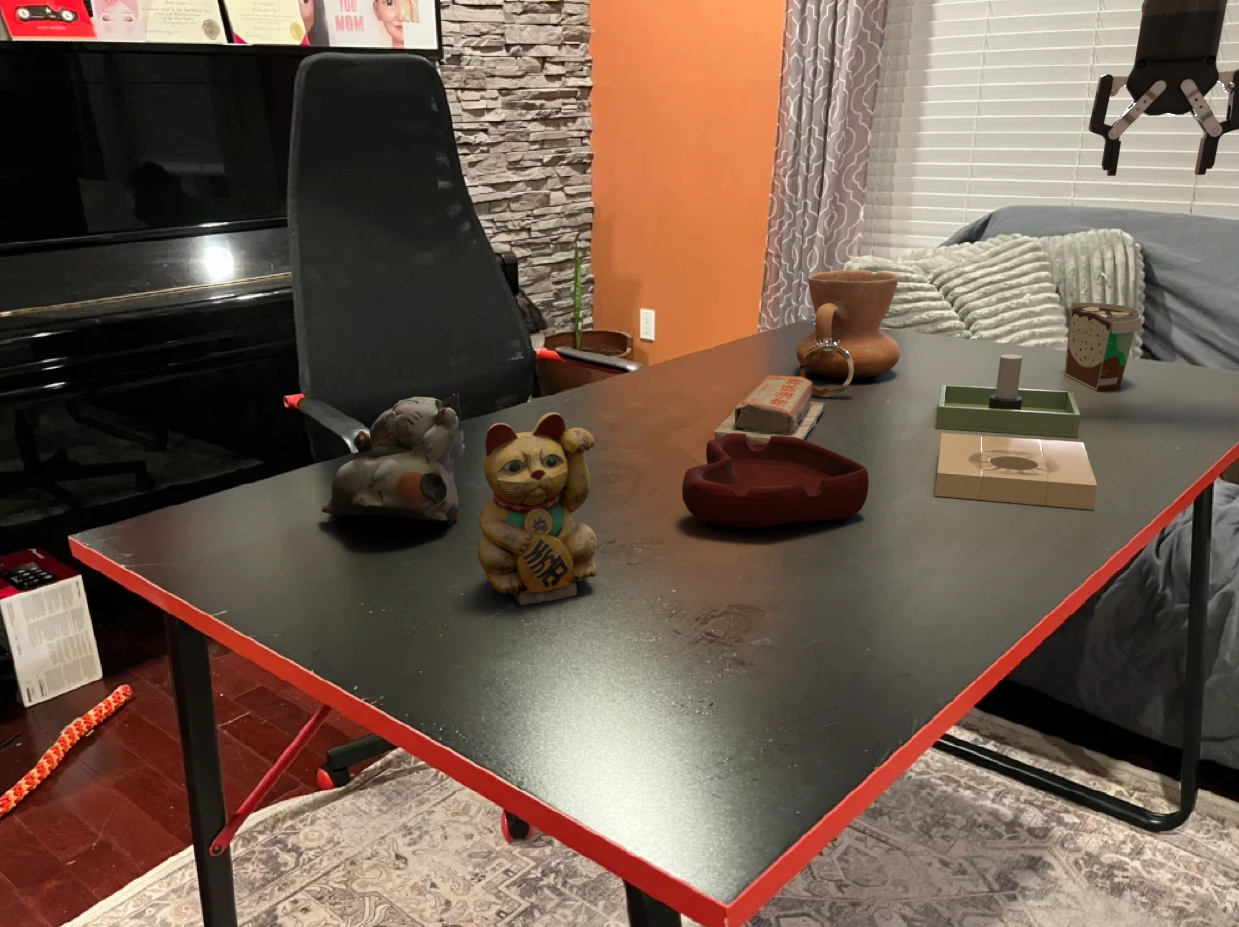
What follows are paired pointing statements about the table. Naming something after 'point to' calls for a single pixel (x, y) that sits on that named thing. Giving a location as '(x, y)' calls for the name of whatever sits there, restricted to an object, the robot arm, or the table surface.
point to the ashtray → (772, 483)
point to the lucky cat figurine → (404, 464)
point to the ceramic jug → (851, 322)
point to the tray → (1008, 412)
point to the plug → (1007, 384)
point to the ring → (828, 346)
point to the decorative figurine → (536, 511)
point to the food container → (1099, 343)
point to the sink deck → (1015, 471)
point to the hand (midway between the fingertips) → (1155, 175)
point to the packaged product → (774, 410)
